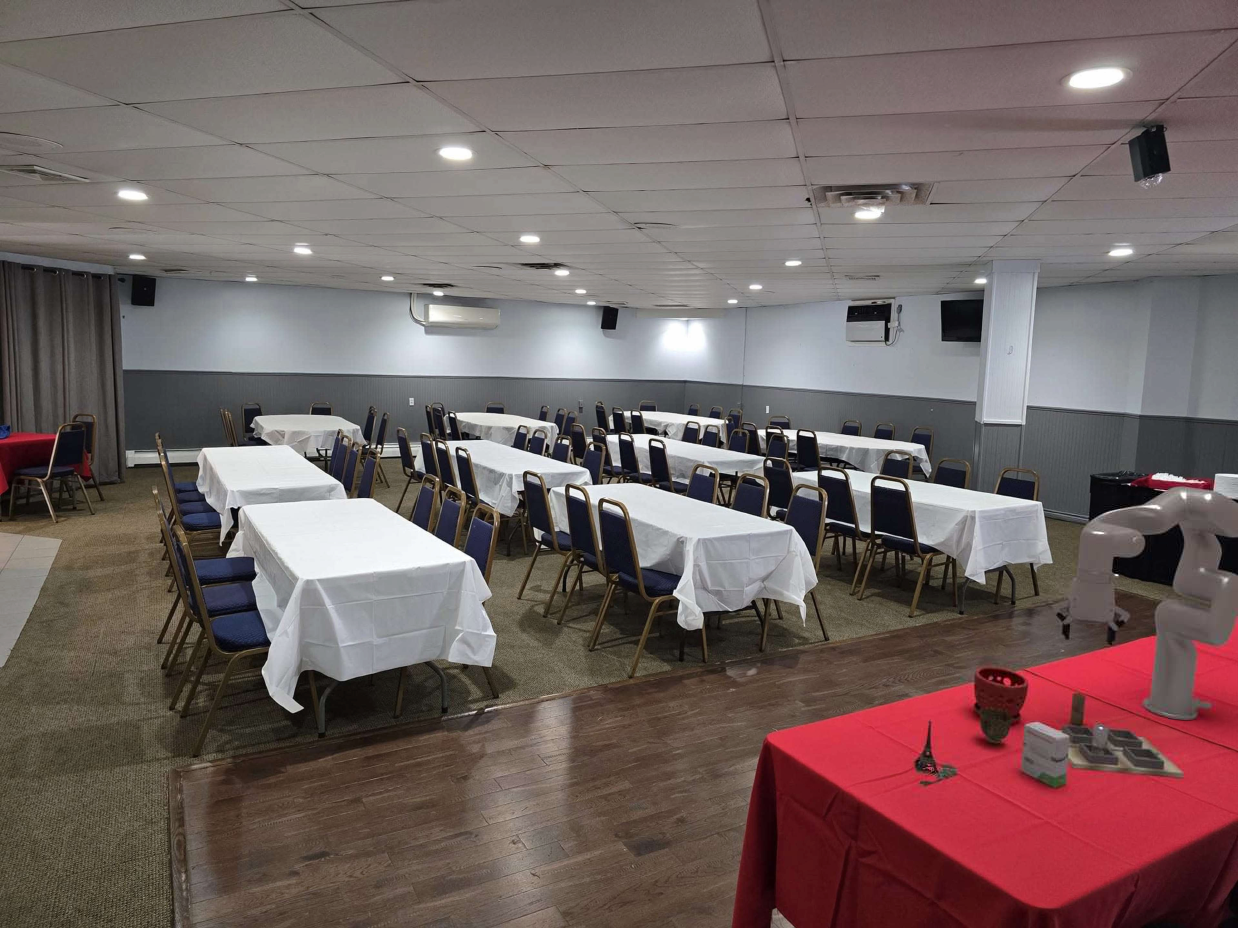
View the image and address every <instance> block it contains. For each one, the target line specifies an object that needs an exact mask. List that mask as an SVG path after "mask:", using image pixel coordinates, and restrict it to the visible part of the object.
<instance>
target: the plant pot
mask: <svg viewBox="0 0 1238 928" xmlns="http://www.w3.org/2000/svg"><path fill="white" fill-rule="evenodd" d="M990 676H991V677H992V679H990ZM998 678H1000V679H998ZM1005 679H1008V680H1009V681H1010V684H1009V685H1007V684H1006V683H1005V682H1004V680H1005ZM973 688H974V698H975V700H976V702H975V703H974V704H973V709H974V712H975V713H976V714H977V716H979V717H980V710H981V708H983V709H984V710H985V707H987V710H988V709H989V708H990V707H992V709H993V708H994V707H995V708H996V709H997V711H999V709H1001V710H1002V711H1005V710H1007V712H1008V713H1010V717H1012V721H1011V724H1015V723H1017V722H1018V721H1019V720H1021V715H1022V714H1021V710H1022V709H1023V707H1024V704H1025V701H1026V700H1027V695H1028V690H1029V681H1028V679H1027V678H1026V677H1025V676H1024V675H1022V674H1020V673H1017V672H1015V671H1012V670H1010V669H1007V668H1002V667H997V666H995V667H994V666H982V667H979V668H978V669H976V670H975V672H974V685H973Z"/></svg>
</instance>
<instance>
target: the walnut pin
mask: <svg viewBox="0 0 1238 928" xmlns="http://www.w3.org/2000/svg"><path fill="white" fill-rule="evenodd" d="M1086 697H1087V696H1086V695H1085V694H1083V693H1080V692H1078V693H1077V692H1073V693H1072V698H1071V709H1070V720H1069V723H1070V724H1071V725H1072V726H1083V725H1084V716H1085V707H1086Z"/></svg>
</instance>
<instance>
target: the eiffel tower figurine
mask: <svg viewBox="0 0 1238 928" xmlns="http://www.w3.org/2000/svg"><path fill="white" fill-rule="evenodd" d="M927 724H928V727H927V733H926V735H927V736H926V740H925V741H926V742H925V745H924V746H923V747H924V748H923V751H922V752H920V754H919V756H918V757H917V758H916V759H915V760H914V761H913V764H914V769H915V772H916V773H919V774H920V773H922V774H928V775H935V776H936V780H937V781H936V780H933V781H934V782H931V781H928V780H927V781H926V780H920V782H919V785H921V786H923V787H926V786H930V785H931V784H932V785H933V784H934V783H938V782H940V781H943V780H945V779H948V778H951V777H954V776H958V775H959V772H958V769H957V768H956V767H955V766H954V765H951V764H948V763H944V764H945V765H944V766H942V765H943V764H941V765H940V766H941V767H942V770H941V769H939V770H940V771H938V770H937V767H936V766H938V764H937V762H936V760H935V758H934V757H935V756H933V755H932V753H933V752H932V750H933V747H932V745H931V744H932V743H931V741H932V738H931V735H932V734H931V732H932V731H931V730H932V720H928V723H927ZM919 762H920V763H919ZM927 764H930V765H931V766H928V765H927ZM926 767H933V768H934V769H932V770H934V771H932V772H931V770H929V769H927V768H926ZM923 768H926V769H923ZM937 778H939V779H937Z"/></svg>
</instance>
